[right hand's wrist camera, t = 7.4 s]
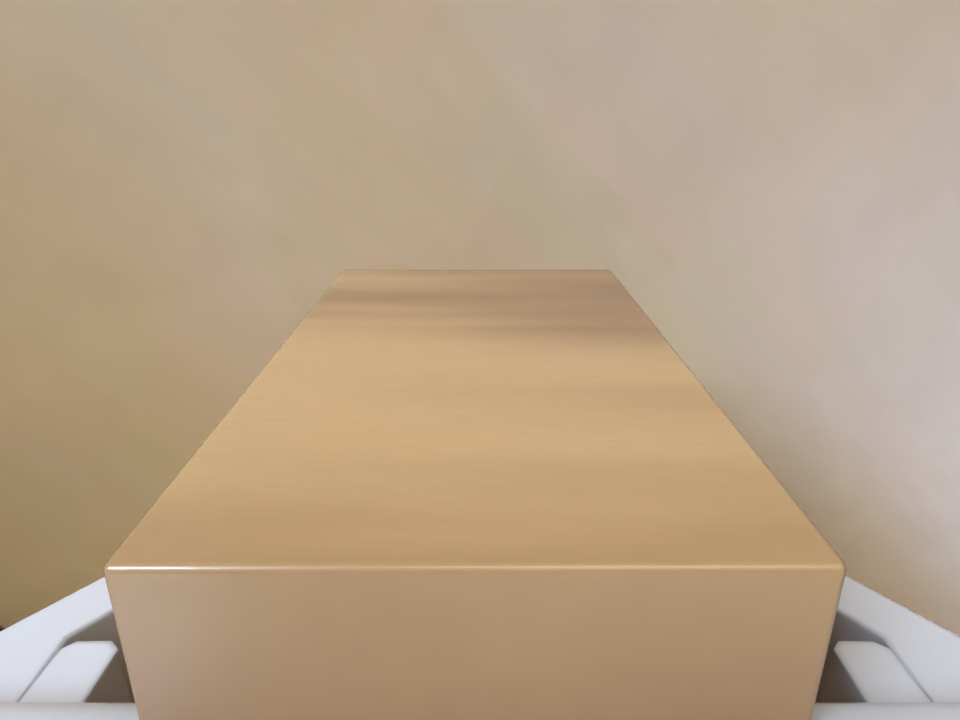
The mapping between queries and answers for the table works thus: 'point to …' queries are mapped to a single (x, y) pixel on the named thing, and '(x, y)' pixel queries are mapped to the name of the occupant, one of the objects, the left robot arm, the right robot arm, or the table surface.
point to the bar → (475, 525)
